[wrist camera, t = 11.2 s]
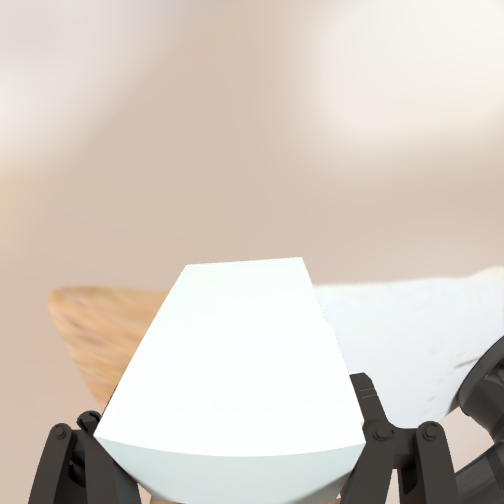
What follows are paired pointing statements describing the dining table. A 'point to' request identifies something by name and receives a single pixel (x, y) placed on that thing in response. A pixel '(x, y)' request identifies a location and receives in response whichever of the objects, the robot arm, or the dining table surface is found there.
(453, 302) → the dining table surface
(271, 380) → the white stepped block
